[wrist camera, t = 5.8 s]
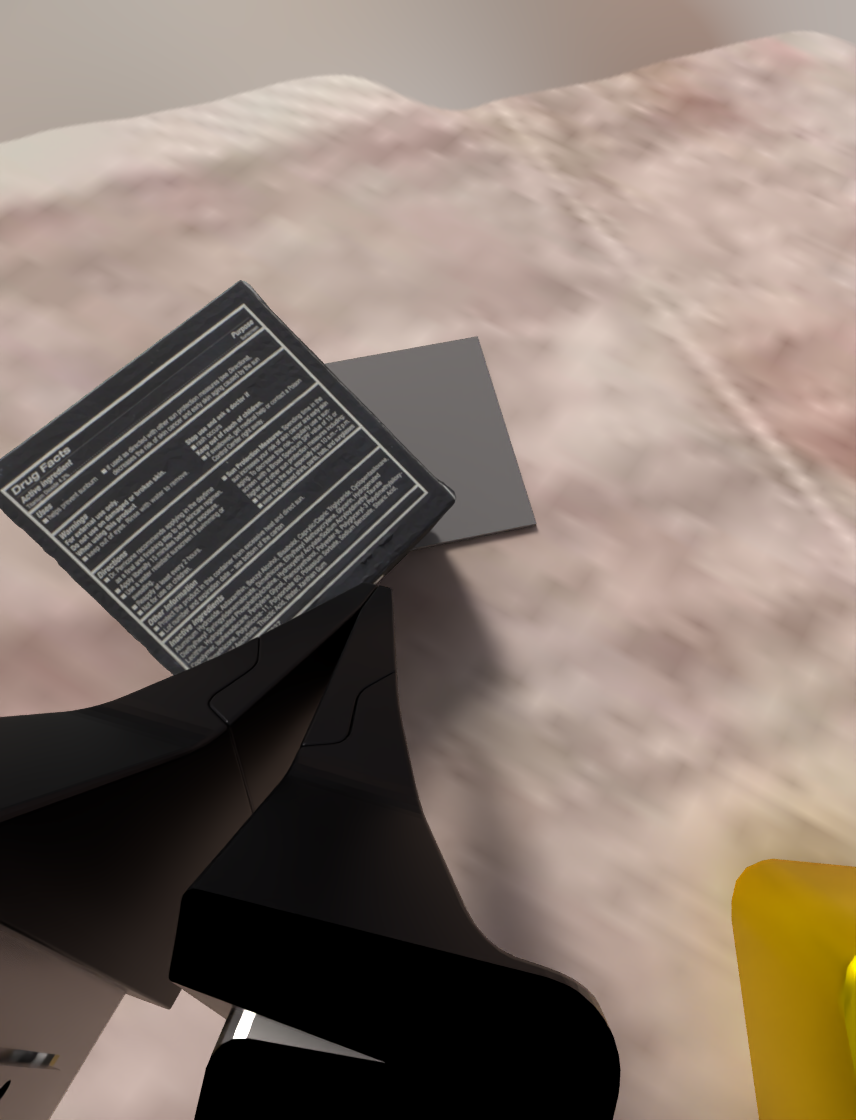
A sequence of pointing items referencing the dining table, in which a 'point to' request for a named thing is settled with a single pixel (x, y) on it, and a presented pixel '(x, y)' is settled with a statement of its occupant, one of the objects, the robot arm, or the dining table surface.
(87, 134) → the dining table surface
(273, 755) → the robot arm
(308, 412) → the small box
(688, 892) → the dining table surface
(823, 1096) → the element tile
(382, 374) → the dark rubber mat
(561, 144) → the dining table surface
